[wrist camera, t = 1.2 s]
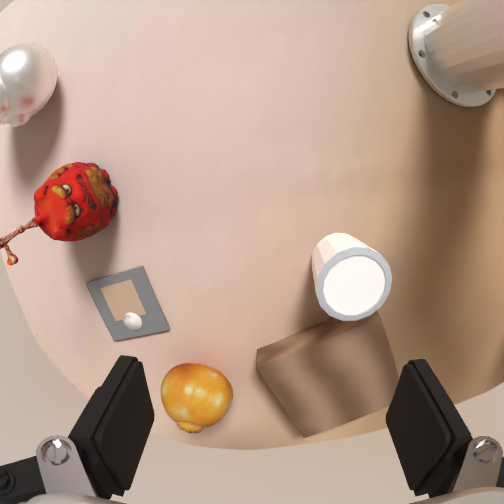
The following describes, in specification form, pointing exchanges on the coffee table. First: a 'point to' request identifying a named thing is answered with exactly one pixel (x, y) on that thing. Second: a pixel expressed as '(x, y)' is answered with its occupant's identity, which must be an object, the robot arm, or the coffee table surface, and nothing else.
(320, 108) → the coffee table surface
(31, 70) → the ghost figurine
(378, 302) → the shot glass
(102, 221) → the red clay folk toy
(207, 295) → the coffee table surface
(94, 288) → the card
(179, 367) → the fruit
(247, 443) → the coffee table surface
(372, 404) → the walnut block
